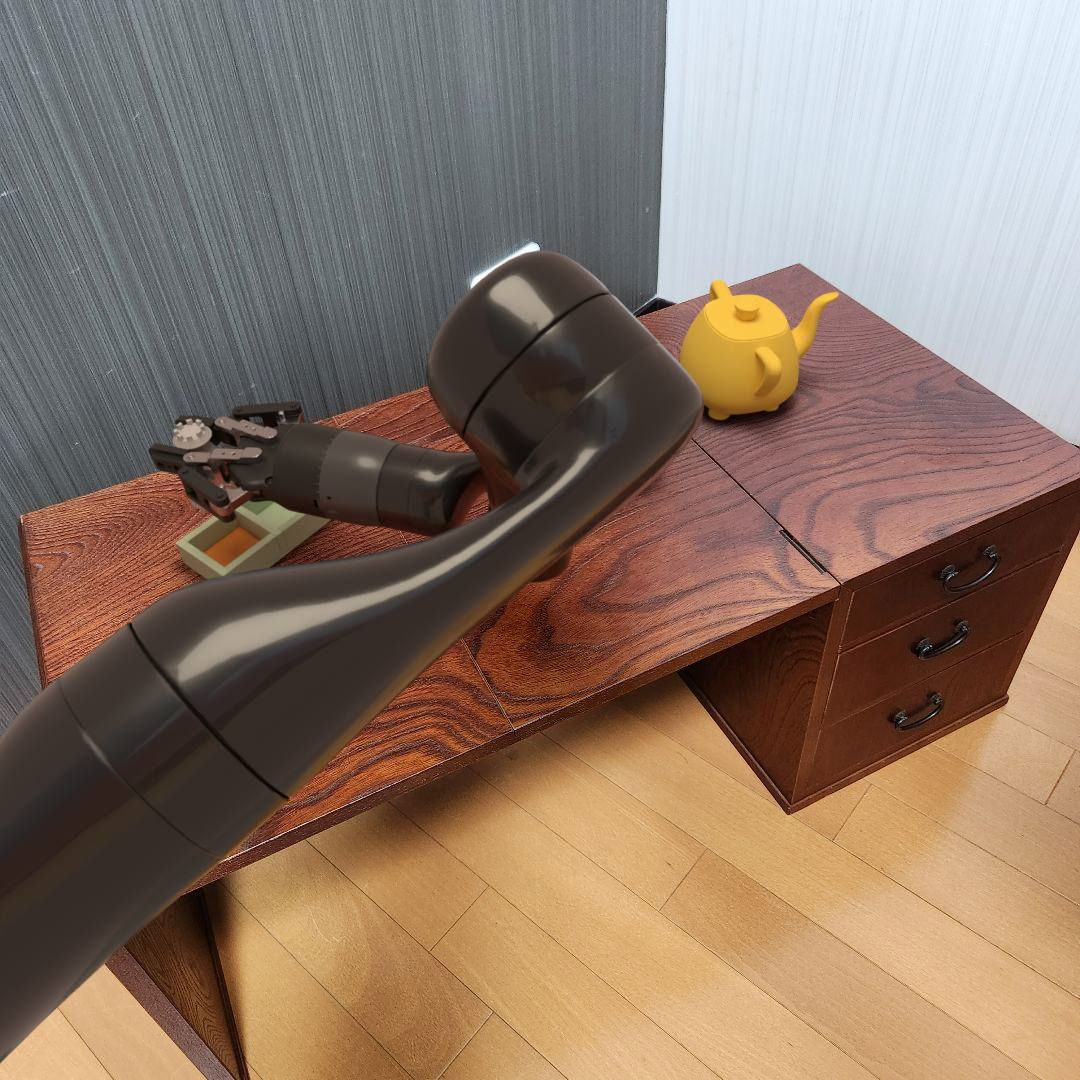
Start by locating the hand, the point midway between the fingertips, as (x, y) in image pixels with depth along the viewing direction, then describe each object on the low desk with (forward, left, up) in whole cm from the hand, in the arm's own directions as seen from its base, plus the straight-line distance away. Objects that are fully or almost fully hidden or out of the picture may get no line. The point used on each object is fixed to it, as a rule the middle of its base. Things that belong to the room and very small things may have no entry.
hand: (167, 440), depth 80 cm
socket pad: (+4, -2, -14) cm, 15 cm away
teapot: (+53, -29, -14) cm, 62 cm away
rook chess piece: (+1, -3, -6) cm, 7 cm away
